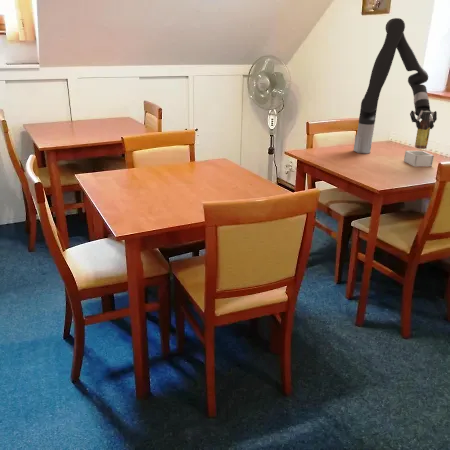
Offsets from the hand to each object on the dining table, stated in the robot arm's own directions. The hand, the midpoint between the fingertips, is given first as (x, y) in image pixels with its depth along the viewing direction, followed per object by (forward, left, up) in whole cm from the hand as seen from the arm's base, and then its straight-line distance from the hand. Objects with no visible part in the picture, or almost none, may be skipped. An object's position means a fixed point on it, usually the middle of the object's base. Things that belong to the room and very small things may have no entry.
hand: (425, 128), depth 248 cm
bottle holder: (0, +2, -20) cm, 20 cm away
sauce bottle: (0, +2, -11) cm, 12 cm away
